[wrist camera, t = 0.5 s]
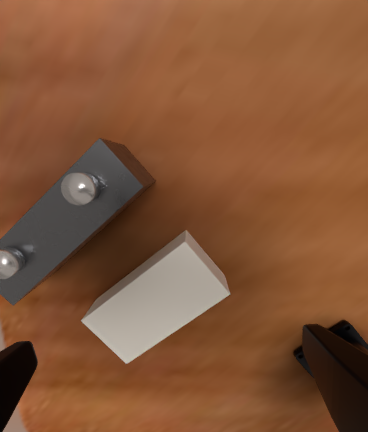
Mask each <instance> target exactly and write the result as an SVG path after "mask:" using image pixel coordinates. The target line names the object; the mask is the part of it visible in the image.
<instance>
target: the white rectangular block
mask: <svg viewBox="0 0 368 432" xmlns="http://www.w3.org/2000/svg"><path fill="white" fill-rule="evenodd" d="M229 295H230V291H229V288H228V285H227V281H226V278H225V275H224V274H223V273H222V271H221V270H220V269H219V268H218V267H217V266H216V264H215V263H214V262H213V261H212V260H211V258H210V257H209V256H208V255H207V254H206V253H205V251H204V250H203V249H202V248H201V247H200V245H199V244H198V243H197V242H196V241H195V240H194V238H193V237H192V236H191V235H190V234H189V233H188V231H187V230H185V231H184V232H182V233H181V234H180V235H178V236H177V237H176V238H175V239H173V240H172V241H171V242H169V243H168V244H167V245H166V246H164V247H163V248H162V249H160V250H159V251H158V252H157V253H155V254H154V255H153V256H151V257H150V258H149V259H147V260H146V261H145V262H144V263H142V264H141V265H140V266H138V267H137V268H136V269H135V270H133V271H132V272H131V273H129V274H128V275H127V276H125V277H124V278H123V279H122V280H120V281H119V282H118V283H116V284H115V285H114V286H113V287H111V288H110V289H109V290H107V291H106V292H105V293H104V294H102V295H101V296H100V297H98V298H97V299H96V300H95V302H94V303H93V304H92V306H91V307H90V309H89V310H88V312H87V313H86V314H85V316H84V317H83V319H82V320H81V321H82V322H83V323H84V324H85V325H86V326H87V327H88V328H89V329H90V330H91V331H92V332H93V333H94V334H95V335H96V336H97V337H98V338H100V339H101V340H102V341H103V342H104V343H105V344H106V345H107V346H108V347H109V348H110V349H111V350H112V351H113V352H114V353H115V354H116V355H118V356H119V357H120V358H121V359H122V360H123V361H124V362H125V363H126V364H127V363H129V362H130V361H132V360H133V359H135V358H136V357H138V356H139V355H141V354H142V353H144V352H145V351H147V350H148V349H150V348H151V347H153V346H154V345H156V344H157V343H159V342H160V341H162V340H163V339H165V338H166V337H168V336H169V335H171V334H172V333H174V332H175V331H177V330H178V329H180V328H181V327H183V326H184V325H186V324H187V323H188V322H190V321H191V320H193V319H194V318H196V317H197V316H199V315H200V314H202V313H203V312H205V311H206V310H208V309H209V308H211V307H212V306H214V305H215V304H217V303H218V302H220V301H221V300H223V299H224V298H226V297H227V296H229Z"/></svg>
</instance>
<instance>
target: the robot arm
mask: <svg viewBox="0 0 368 432" xmlns="http://www.w3.org/2000/svg"><path fill="white" fill-rule="evenodd" d="M294 355H295V357H296V359H297V360H298V361H299V362H300V364H301V365H302V366H303V367H304V368H305V369H306V370H307V371H308V372H309V373H310V375H311V376H312V377H313V378H314V379H315V381H316V383H317V385H318V388H319V390H320V392H321V395H322V397H323V399H324V401H325V404H326V406H327V408H328V410H329V413H330V415H331V417H332V419H333V421H334V423H335V425H336V427H337V429H338V430H339V432H368V345H367V343H366V342H365V341H364V340H363V338H362V337H361V336H360V335H359V333H358V332H357V331H356V330H355V329H354V327H353V326H352V325H351V324H350V323H349V322H347V321H344V322H342V323H340V324H338V325H337V326H335V327H333V328H332V329H330V330H327V329H325V328H324V327H322V326H320V325H318V324H306V325H304V326H303V335H302V347H301V348H299V349H297V350H296V351H295V352H294ZM37 363H38V361H37V357H36V354H35V351H34V347H33V344H32V343H31V342H30V341H21V342H16V343H14V344H13V345H11V346H9V347H7V348H6V349H4V350H2V351H1V352H0V432H3V430H4V428H5V427H6V425H7V423H8V421H9V419H10V417H11V416H12V414H13V411H14V410H15V408H16V406H17V404H18V402H19V400H20V398H21V397H22V395H23V393H24V391H25V389H26V387H27V385H28V383H29V381H30V379H31V377H32V376H33V374H34V372H35V370H36V367H37Z"/></svg>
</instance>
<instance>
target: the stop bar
mask: <svg viewBox="0 0 368 432" xmlns="http://www.w3.org/2000/svg"><path fill="white" fill-rule="evenodd" d="M154 182H155V180H154V178H153V177H152V176H151V175H150V174H149V173H148V172H147V171H146V169H145V168H144V167H143V166H142V165H141V164H140V163H139V162H138V160H137V159H136V158H135V157H134V156H133V155H132V154H131V152H130V151H129V150H128V149H127V148H126V147H125V146H124V145H121V144H118V143H115V142H111V141H108V140H104V139H101V138H99V139H98V140H97V141H96V142H95V143H94V144H93V145H92V146H91V147H90V148H89V149H88V151H87V152H86V153H85V154H84V155H83V156H82V157H81V158H80V159H79V160H78V161H77V162H76V163H75V164H74V165H73V166H72V167H71V168H70V169H69V170H68V171H67V172H66V173H65V174H64V175H63V176H62V177H61V178H60V179H59V180H58V181H57V182H56V183H55V184H54V185H53V186H52V187H51V188H50V189H49V190H48V191H47V192H46V193H45V194H44V195H43V196H42V197H41V199H40V200H39V201H38V202H37V203H36V204H35V205H34V206H33V207H32V208H31V209H30V210H29V211H28V212H27V213H26V214H25V215H24V216H23V217H22V218H21V219H20V220H19V221H18V222H17V223H16V224H15V225H14V226H13V227H12V228H11V229H10V230H9V231H8V232H7V233H6V234H5V235H4V236H3V237H2V238H1V239H0V294H1V295H2V296H3V297H4V298H5V299H6V300H8V301H9V302H10V303H11V304H12V305H14V304H16V303H17V302H18V301H20V300H21V299H22V298H23V297H25V296H26V295H27V294H28V293H30V292H31V291H32V290H33V289H35V288H36V287H37V286H38V285H40V284H41V283H42V282H43V281H45V280H46V279H47V278H49V277H50V276H51V275H52V274H54V273H55V272H56V271H57V270H58V269H59V268H60V267H61V266H62V265H64V264H65V263H66V262H67V261H68V260H69V259H70V258H71V257H72V256H74V255H75V254H76V253H77V252H78V251H79V250H80V249H81V248H82V247H83V246H85V245H86V244H87V243H88V242H89V241H90V240H91V239H92V238H93V237H95V236H96V235H97V234H98V233H99V232H100V231H101V230H102V229H103V228H104V227H106V226H107V225H108V224H109V223H110V222H111V221H112V220H113V219H114V218H115V217H117V216H118V215H119V214H120V213H121V212H122V211H123V210H124V209H125V208H127V207H128V206H129V205H130V204H131V203H132V202H133V201H134V200H135V199H136V198H138V197H139V196H140V195H141V194H142V193H143V192H144V191H145V190H146V189H148V188H149V187H150V186H151V185H152V184H153V183H154Z"/></svg>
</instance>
